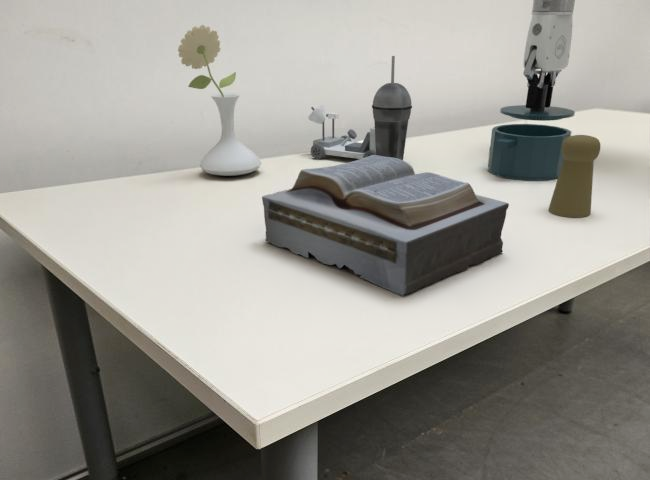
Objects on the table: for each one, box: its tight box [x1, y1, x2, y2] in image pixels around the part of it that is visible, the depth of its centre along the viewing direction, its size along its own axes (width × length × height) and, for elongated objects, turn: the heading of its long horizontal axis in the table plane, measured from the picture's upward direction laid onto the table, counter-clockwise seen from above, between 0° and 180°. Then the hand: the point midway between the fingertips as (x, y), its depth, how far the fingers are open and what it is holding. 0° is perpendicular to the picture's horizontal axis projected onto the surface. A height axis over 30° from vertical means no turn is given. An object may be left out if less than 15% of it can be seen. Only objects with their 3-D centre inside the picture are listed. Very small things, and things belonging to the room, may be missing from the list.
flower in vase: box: [177, 24, 262, 177], centre depth 108 cm, size 13×11×25 cm
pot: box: [487, 123, 573, 182], centre depth 112 cm, size 14×19×8 cm
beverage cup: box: [371, 55, 413, 161], centre depth 110 cm, size 7×7×20 cm
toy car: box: [307, 105, 376, 160], centre depth 124 cm, size 18×10×12 cm
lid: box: [499, 84, 576, 122], centre depth 124 cm, size 15×15×6 cm
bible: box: [261, 155, 510, 298], centre depth 76 cm, size 23×27×10 cm
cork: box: [547, 134, 601, 218], centre depth 89 cm, size 6×6×11 cm
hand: (537, 106), depth 125 cm, fingers closed on lid, 2 cm apart
